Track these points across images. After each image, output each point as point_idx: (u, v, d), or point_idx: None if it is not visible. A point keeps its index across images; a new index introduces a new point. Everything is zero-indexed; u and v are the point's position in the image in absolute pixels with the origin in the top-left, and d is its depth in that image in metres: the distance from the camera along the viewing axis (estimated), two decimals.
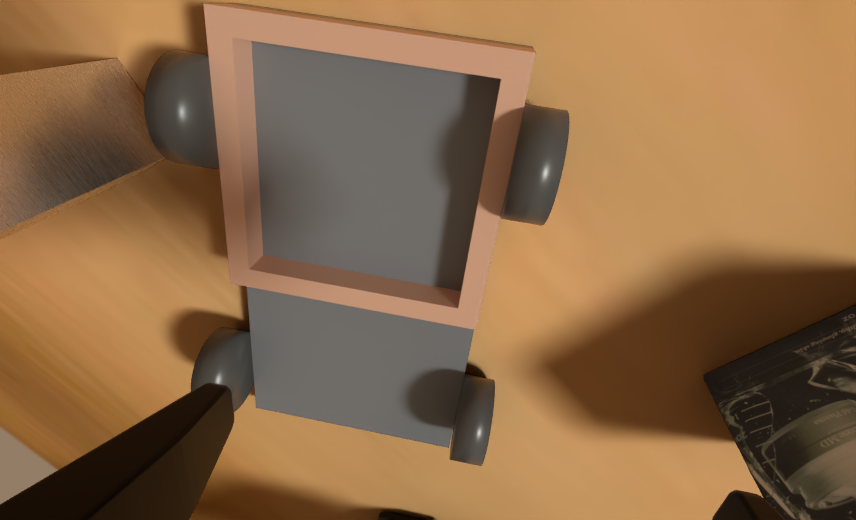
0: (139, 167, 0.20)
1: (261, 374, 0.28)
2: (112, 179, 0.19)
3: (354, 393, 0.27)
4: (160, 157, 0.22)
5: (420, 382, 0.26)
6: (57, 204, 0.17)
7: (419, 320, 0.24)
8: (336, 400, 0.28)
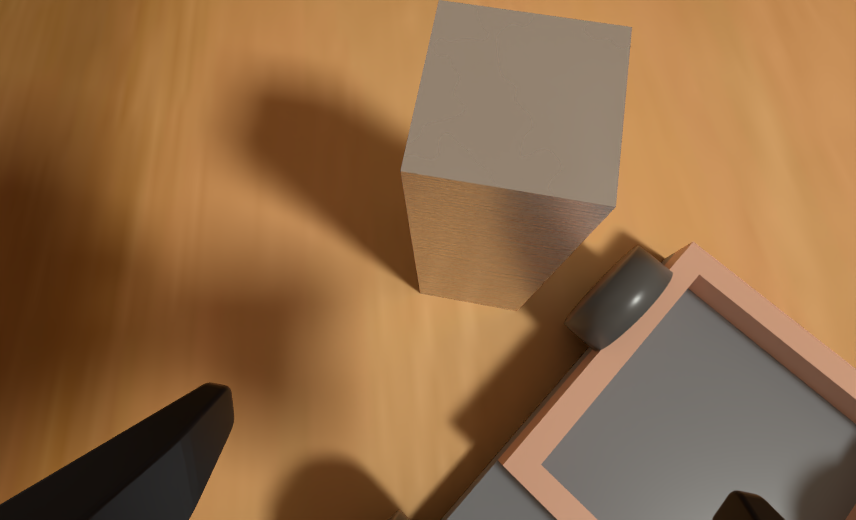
0: (528, 297, 0.19)
1: None
2: (536, 288, 0.17)
3: None
4: (522, 303, 0.20)
5: None
6: (554, 270, 0.15)
7: None
8: None
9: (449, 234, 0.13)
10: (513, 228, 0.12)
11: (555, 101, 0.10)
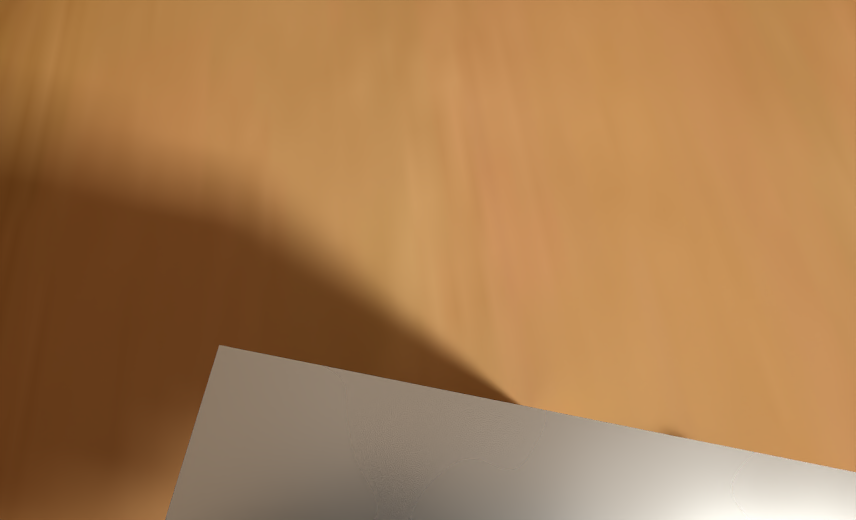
0: None
1: None
2: None
3: None
4: None
5: None
6: None
7: None
8: None
9: None
10: None
11: None
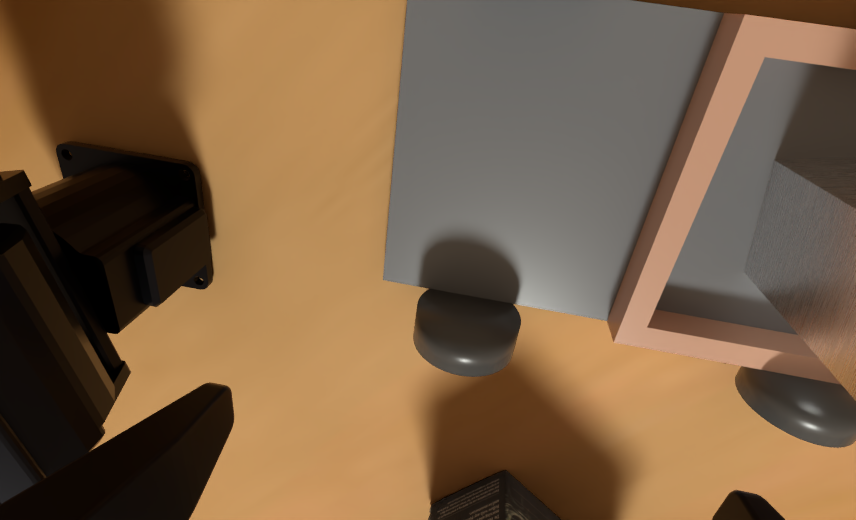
0: (781, 313, 0.16)
1: None
2: (807, 342, 0.15)
3: (466, 163, 0.18)
4: (762, 291, 0.17)
5: (494, 254, 0.20)
6: None
7: (598, 260, 0.19)
8: (448, 133, 0.18)
9: None
10: None
11: None
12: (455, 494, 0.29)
